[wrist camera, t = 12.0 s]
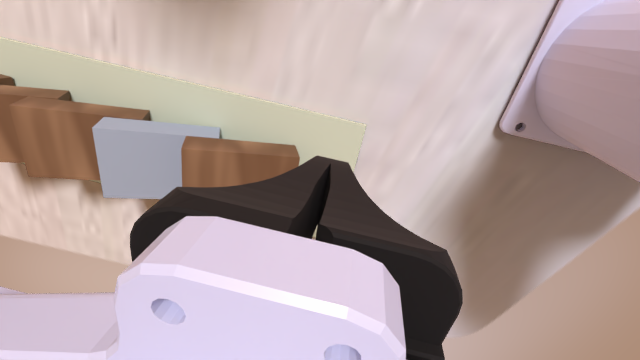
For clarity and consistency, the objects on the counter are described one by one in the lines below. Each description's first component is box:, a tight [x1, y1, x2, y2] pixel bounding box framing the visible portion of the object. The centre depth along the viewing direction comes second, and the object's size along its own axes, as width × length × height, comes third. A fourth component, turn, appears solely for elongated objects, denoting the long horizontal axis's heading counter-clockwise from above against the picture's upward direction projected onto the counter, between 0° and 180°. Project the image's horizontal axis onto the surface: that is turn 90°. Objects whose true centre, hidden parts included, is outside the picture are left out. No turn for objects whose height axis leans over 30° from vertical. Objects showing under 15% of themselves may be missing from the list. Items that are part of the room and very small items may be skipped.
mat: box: [0, 37, 367, 238], centre depth 21 cm, size 25×9×1 cm, turn 79°
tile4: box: [0, 85, 71, 163], centre depth 19 cm, size 2×4×6 cm
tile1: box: [181, 136, 300, 187], centre depth 19 cm, size 2×4×6 cm
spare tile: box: [92, 117, 220, 199], centre depth 19 cm, size 2×4×6 cm
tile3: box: [9, 96, 150, 180], centre depth 19 cm, size 2×4×6 cm
